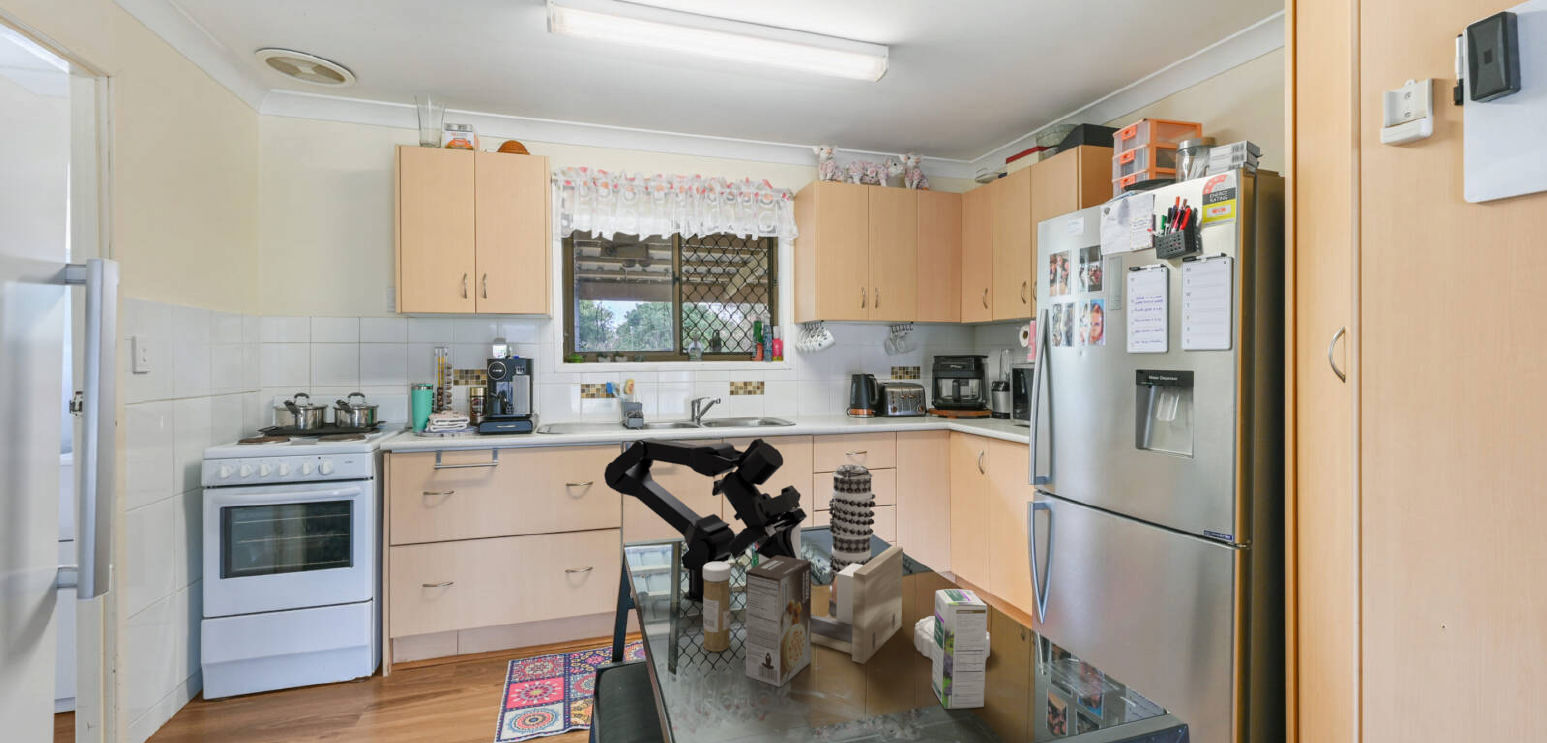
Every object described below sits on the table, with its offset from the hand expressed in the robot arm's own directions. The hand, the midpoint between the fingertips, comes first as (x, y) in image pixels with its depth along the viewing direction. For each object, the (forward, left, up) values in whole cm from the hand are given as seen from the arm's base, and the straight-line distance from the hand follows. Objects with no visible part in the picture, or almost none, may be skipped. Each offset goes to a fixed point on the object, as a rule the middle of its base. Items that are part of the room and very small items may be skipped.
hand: (796, 570), depth 116 cm
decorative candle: (+4, +18, -9) cm, 20 cm away
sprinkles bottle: (-7, -15, -9) cm, 19 cm away
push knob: (+11, -1, -8) cm, 14 cm away
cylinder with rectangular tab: (-13, +20, -9) cm, 26 cm away
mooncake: (+27, +3, -9) cm, 29 cm away
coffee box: (+5, -17, -9) cm, 20 cm away
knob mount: (+12, -1, -9) cm, 15 cm away
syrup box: (+31, -12, -9) cm, 34 cm away
